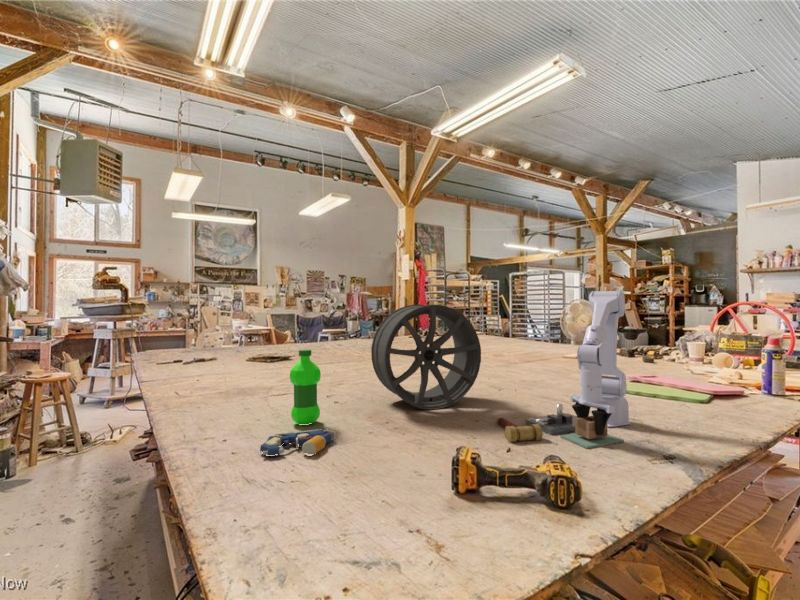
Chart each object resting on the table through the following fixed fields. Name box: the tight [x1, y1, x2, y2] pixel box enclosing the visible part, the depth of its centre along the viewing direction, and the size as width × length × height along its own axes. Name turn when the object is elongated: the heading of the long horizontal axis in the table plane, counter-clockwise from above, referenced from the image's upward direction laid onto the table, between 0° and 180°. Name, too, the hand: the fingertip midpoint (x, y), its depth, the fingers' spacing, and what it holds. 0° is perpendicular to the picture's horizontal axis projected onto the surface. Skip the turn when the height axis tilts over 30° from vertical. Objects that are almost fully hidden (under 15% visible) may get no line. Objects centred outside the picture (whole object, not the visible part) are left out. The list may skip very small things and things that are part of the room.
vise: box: [524, 403, 577, 436], centre depth 133 cm, size 18×12×7 cm, turn 111°
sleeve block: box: [574, 415, 608, 439], centre depth 119 cm, size 7×5×4 cm
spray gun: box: [259, 427, 336, 456], centre depth 114 cm, size 21×4×15 cm
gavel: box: [496, 417, 544, 443], centre depth 128 cm, size 21×5×10 cm
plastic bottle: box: [289, 348, 321, 425], centre depth 138 cm, size 10×10×25 cm
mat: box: [560, 432, 625, 450], centre depth 119 cm, size 14×10×1 cm
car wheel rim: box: [370, 304, 482, 411], centre depth 163 cm, size 40×20×40 cm, turn 109°
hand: (591, 431), depth 119 cm, fingers closed on sleeve block, 5 cm apart
